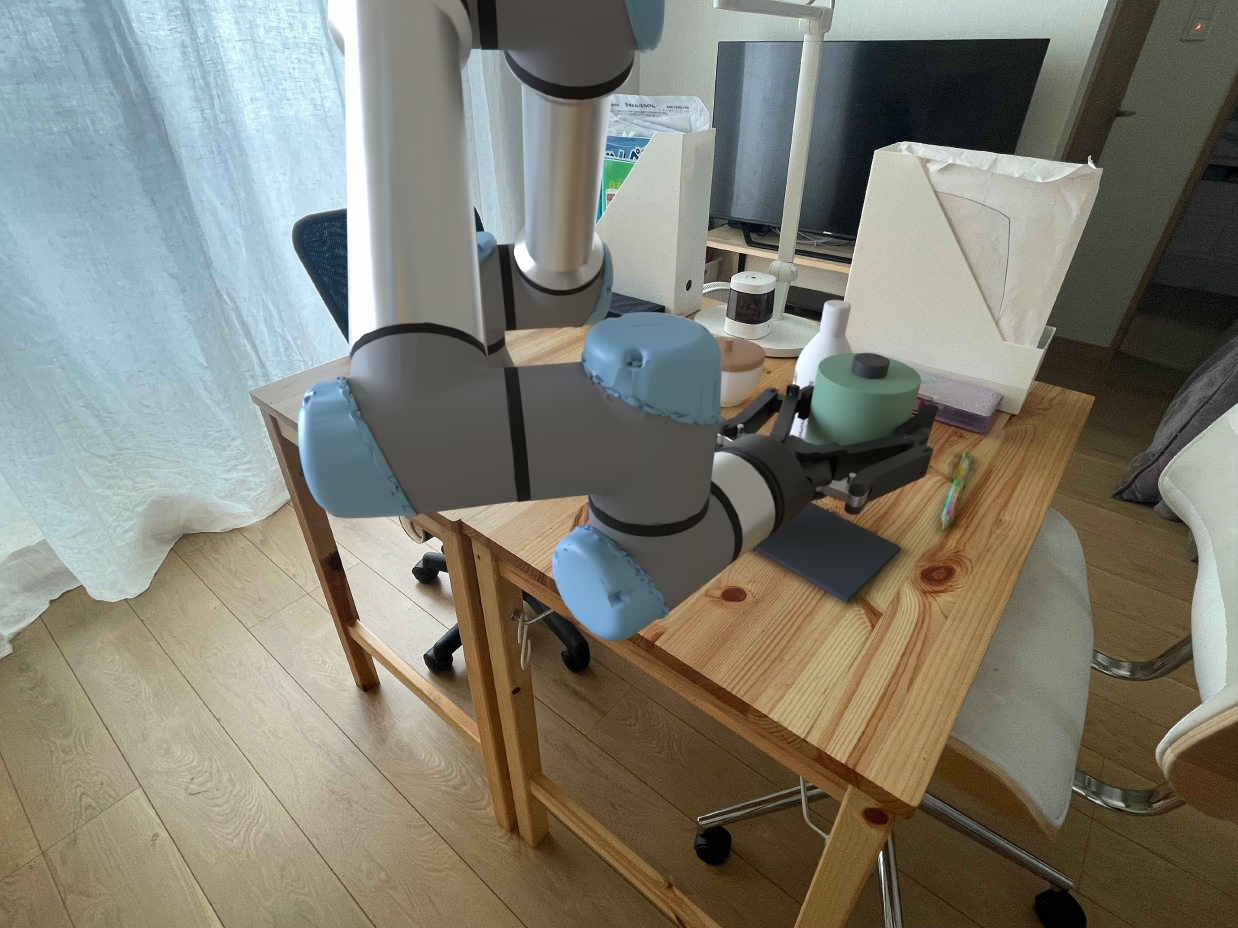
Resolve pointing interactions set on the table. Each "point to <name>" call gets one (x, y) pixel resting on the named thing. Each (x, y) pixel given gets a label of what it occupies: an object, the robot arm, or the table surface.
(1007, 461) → the table surface
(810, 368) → the bath foam
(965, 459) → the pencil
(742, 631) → the table surface
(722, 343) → the white bowl with lid
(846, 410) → the green knobbed cylinder
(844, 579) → the mat
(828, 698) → the table surface
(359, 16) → the robot arm
